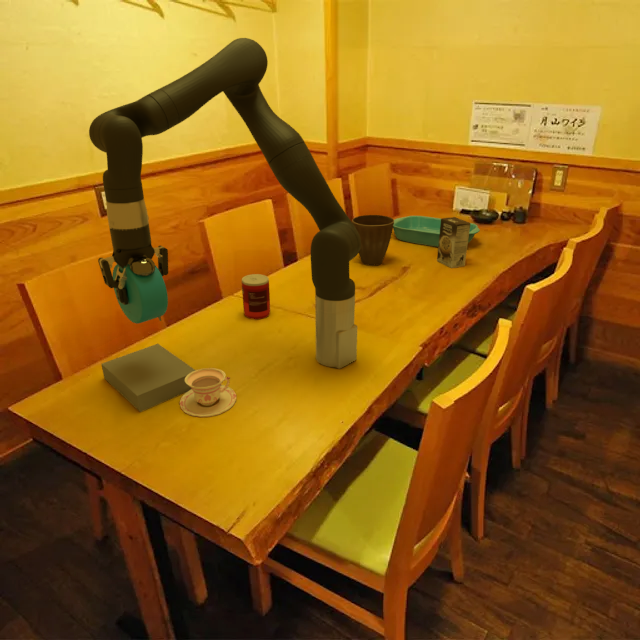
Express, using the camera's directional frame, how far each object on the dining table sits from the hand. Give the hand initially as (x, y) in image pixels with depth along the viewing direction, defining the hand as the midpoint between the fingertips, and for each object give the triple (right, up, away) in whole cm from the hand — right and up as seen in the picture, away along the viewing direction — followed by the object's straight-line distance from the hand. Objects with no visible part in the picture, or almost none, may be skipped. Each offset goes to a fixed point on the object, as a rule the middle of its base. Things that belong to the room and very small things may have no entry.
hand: (140, 299), depth 110 cm
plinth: (0, -19, +8) cm, 20 cm away
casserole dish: (+86, +29, +107) cm, 140 cm away
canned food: (+20, -3, +41) cm, 46 cm away
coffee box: (+86, +16, +80) cm, 119 cm away
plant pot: (+57, +17, +81) cm, 101 cm away
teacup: (+14, -22, +1) cm, 26 cm away
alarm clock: (0, -4, +2) cm, 5 cm away
